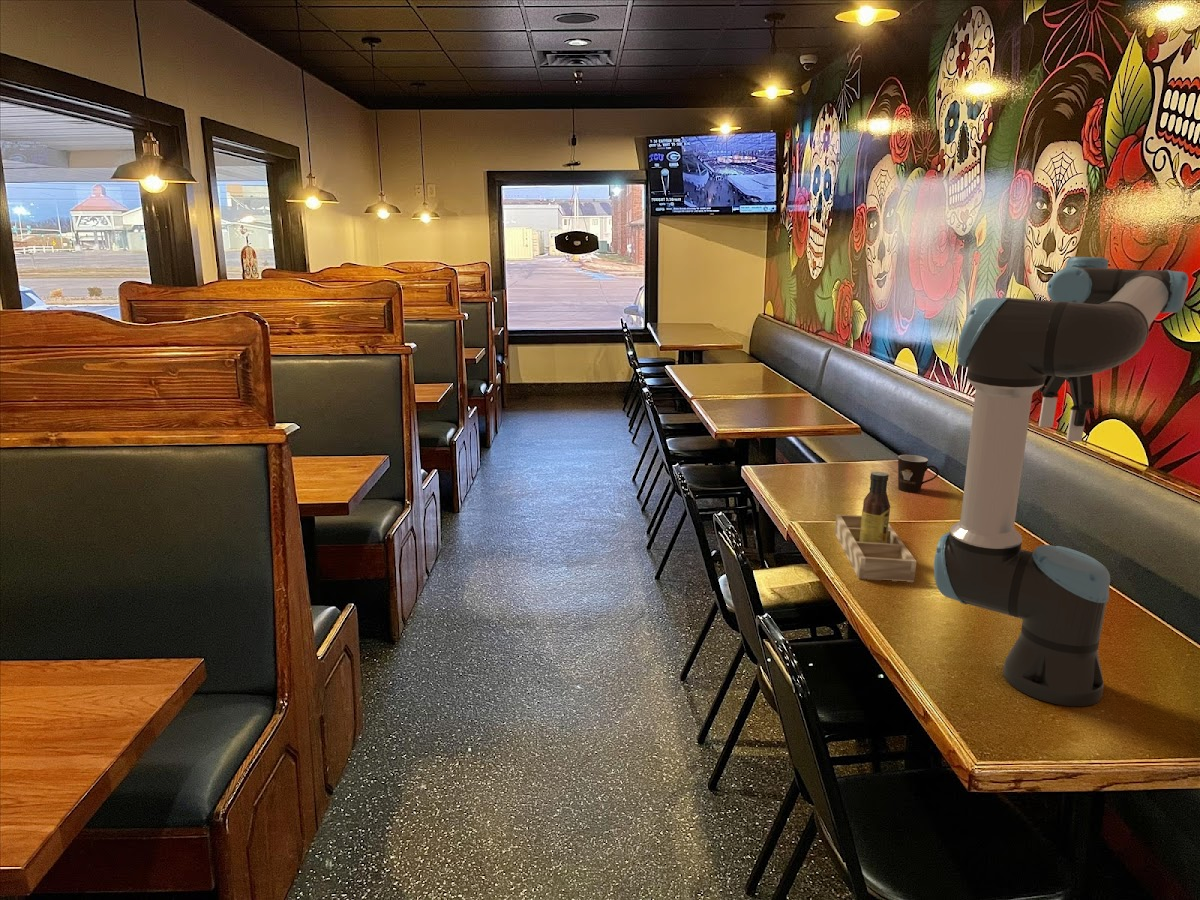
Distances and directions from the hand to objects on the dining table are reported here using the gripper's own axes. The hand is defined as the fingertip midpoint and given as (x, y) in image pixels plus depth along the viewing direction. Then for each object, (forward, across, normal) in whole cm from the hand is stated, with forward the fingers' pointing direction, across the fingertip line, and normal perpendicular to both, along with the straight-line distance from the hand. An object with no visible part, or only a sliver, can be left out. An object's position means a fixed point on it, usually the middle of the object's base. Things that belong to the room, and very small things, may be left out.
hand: (1059, 433), depth 178 cm
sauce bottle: (+34, +13, +33) cm, 49 cm away
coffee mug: (+35, +72, +7) cm, 80 cm away
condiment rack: (+35, +13, +33) cm, 49 cm away
